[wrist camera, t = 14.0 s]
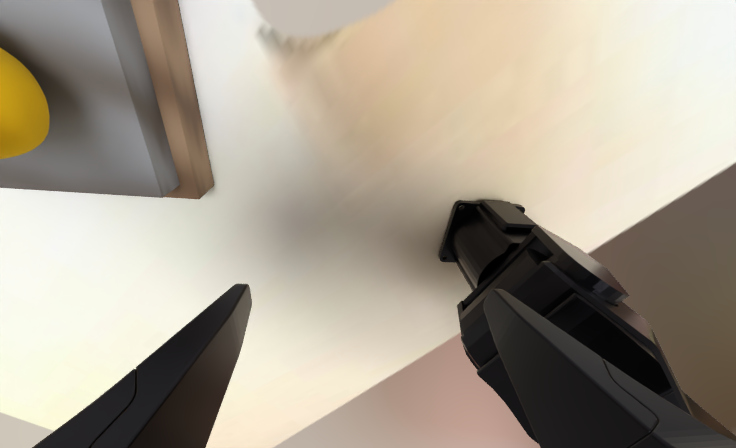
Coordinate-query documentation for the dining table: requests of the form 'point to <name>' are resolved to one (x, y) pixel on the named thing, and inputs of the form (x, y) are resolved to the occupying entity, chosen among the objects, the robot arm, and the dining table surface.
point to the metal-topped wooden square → (108, 98)
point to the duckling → (20, 108)
